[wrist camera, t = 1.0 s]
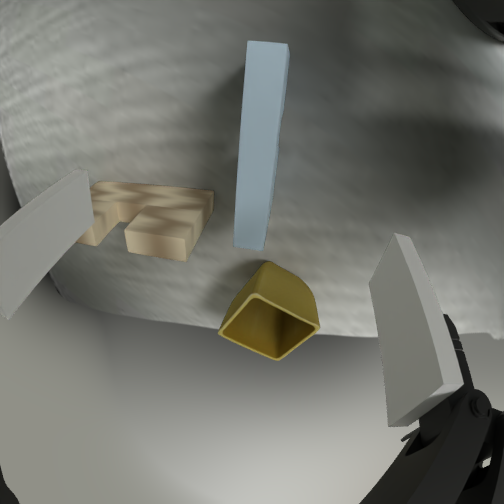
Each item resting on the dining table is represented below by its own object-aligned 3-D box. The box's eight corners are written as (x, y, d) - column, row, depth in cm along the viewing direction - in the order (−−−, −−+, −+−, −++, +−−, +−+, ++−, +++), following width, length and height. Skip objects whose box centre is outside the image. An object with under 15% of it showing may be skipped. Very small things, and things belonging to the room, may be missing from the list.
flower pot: (230, 284, 40) (215, 335, 33) (262, 242, 35) (252, 293, 28) (282, 311, 42) (277, 362, 35) (319, 274, 37) (322, 328, 30)
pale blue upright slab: (263, 51, 23) (247, 40, 15) (290, 53, 22) (287, 44, 14) (250, 195, 32) (233, 246, 24) (272, 198, 32) (263, 251, 24)
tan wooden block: (101, 197, 35) (56, 238, 27) (98, 181, 33) (51, 219, 25) (213, 210, 34) (186, 262, 26) (213, 190, 32) (184, 239, 24)
